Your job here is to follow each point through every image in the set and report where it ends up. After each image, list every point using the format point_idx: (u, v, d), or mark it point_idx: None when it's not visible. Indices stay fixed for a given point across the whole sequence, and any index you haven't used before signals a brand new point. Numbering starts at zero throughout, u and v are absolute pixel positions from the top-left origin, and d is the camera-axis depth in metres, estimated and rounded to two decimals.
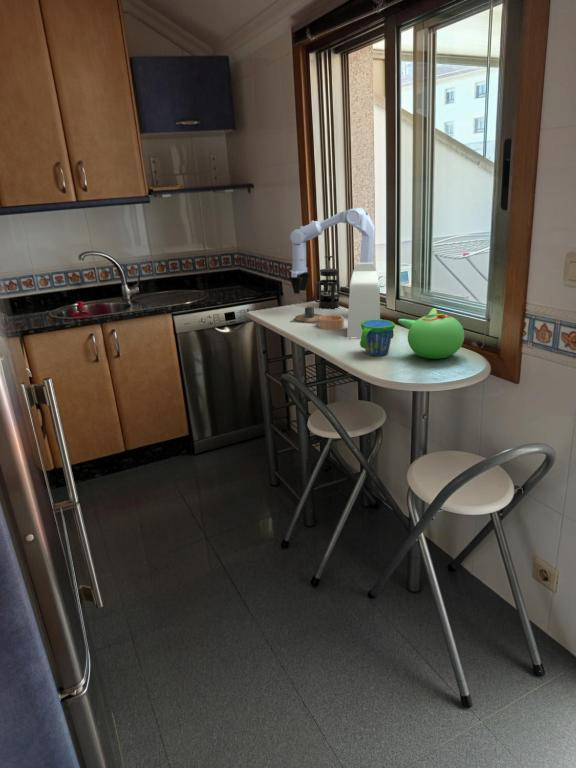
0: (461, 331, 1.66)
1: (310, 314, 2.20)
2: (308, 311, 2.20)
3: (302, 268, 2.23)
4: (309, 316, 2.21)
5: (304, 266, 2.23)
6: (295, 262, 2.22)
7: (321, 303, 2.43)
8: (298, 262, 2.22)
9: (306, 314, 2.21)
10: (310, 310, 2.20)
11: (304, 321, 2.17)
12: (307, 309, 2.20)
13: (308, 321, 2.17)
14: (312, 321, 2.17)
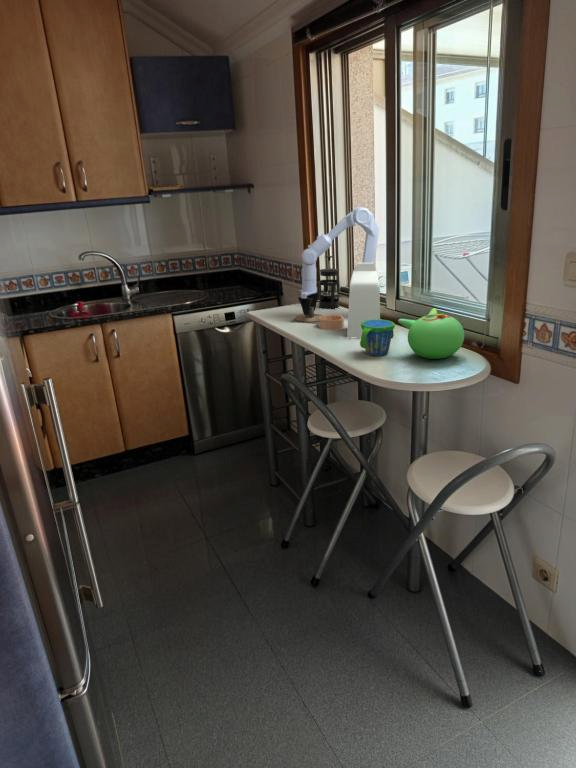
0: (461, 331, 1.66)
1: (310, 314, 2.20)
2: None
3: (312, 289, 2.16)
4: (309, 316, 2.21)
5: (314, 286, 2.16)
6: (305, 282, 2.15)
7: (321, 303, 2.43)
8: (308, 282, 2.15)
9: None
10: (310, 310, 2.20)
11: (304, 321, 2.17)
12: None
13: (308, 321, 2.17)
14: (312, 321, 2.17)
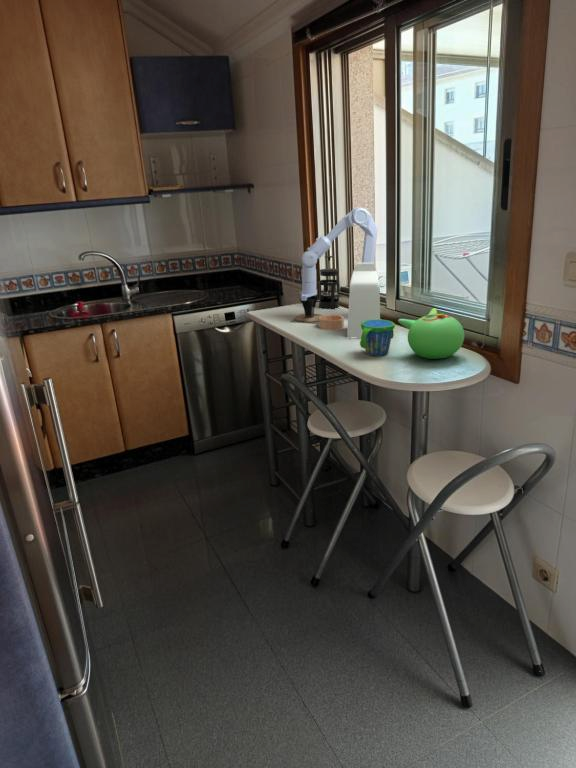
0: (461, 331, 1.66)
1: None
2: None
3: (312, 291, 2.16)
4: (309, 316, 2.21)
5: (314, 289, 2.16)
6: (305, 285, 2.16)
7: (321, 303, 2.43)
8: (308, 285, 2.15)
9: None
10: None
11: (304, 321, 2.17)
12: None
13: (308, 321, 2.17)
14: (312, 321, 2.17)
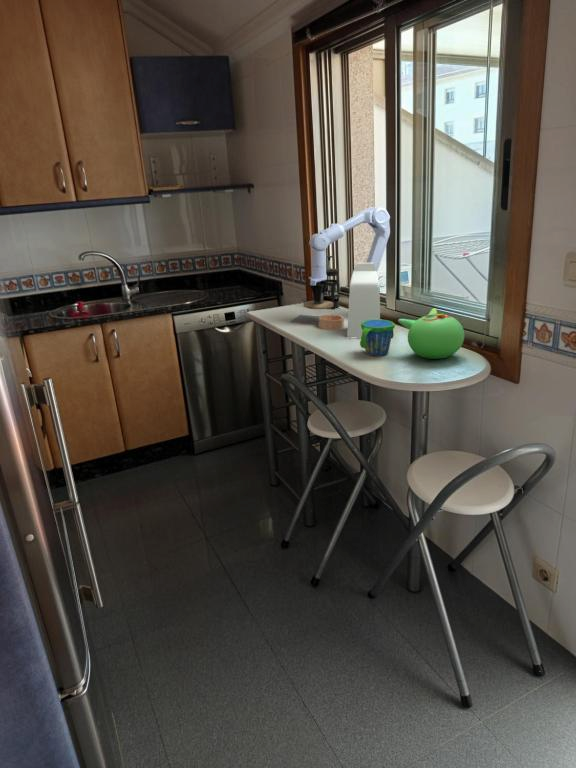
0: (461, 331, 1.66)
1: None
2: None
3: (322, 275, 2.08)
4: (318, 302, 2.13)
5: (324, 273, 2.09)
6: (314, 269, 2.08)
7: None
8: (317, 269, 2.07)
9: None
10: None
11: (313, 307, 2.10)
12: None
13: (317, 307, 2.09)
14: (321, 307, 2.10)
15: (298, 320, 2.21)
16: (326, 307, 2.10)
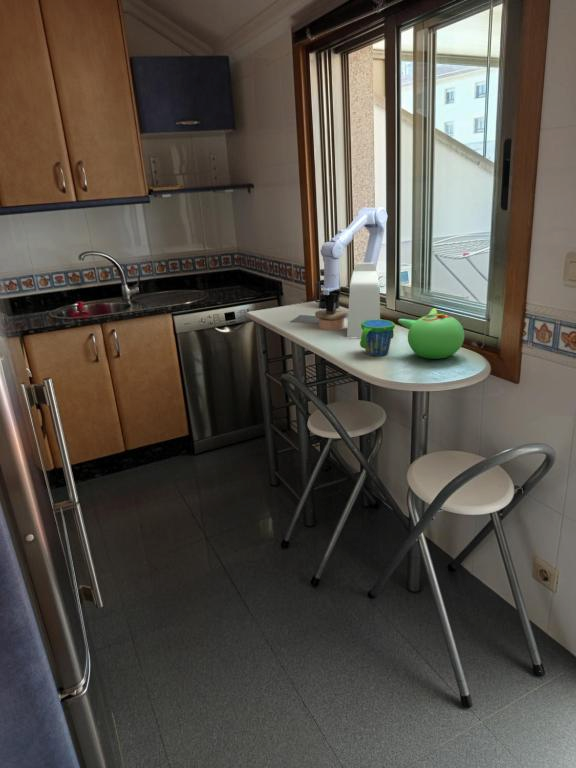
0: (461, 331, 1.66)
1: None
2: None
3: (335, 284, 2.03)
4: (330, 312, 2.07)
5: (337, 282, 2.03)
6: (327, 278, 2.02)
7: (321, 303, 2.43)
8: (330, 278, 2.02)
9: None
10: None
11: (325, 318, 2.04)
12: None
13: (330, 318, 2.04)
14: (334, 318, 2.04)
15: (298, 320, 2.21)
16: (339, 318, 2.04)
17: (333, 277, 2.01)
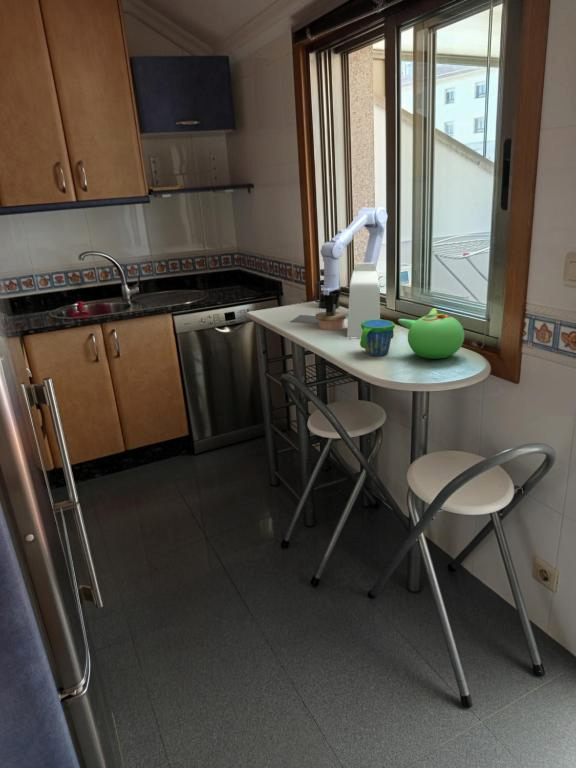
0: (461, 331, 1.66)
1: (331, 312, 2.07)
2: None
3: (335, 285, 2.03)
4: (330, 314, 2.08)
5: (337, 282, 2.03)
6: (327, 278, 2.02)
7: (321, 303, 2.43)
8: (330, 278, 2.02)
9: (327, 312, 2.08)
10: None
11: (325, 319, 2.04)
12: None
13: (330, 319, 2.04)
14: (334, 319, 2.04)
15: (298, 320, 2.21)
16: (339, 319, 2.05)
17: (333, 277, 2.01)
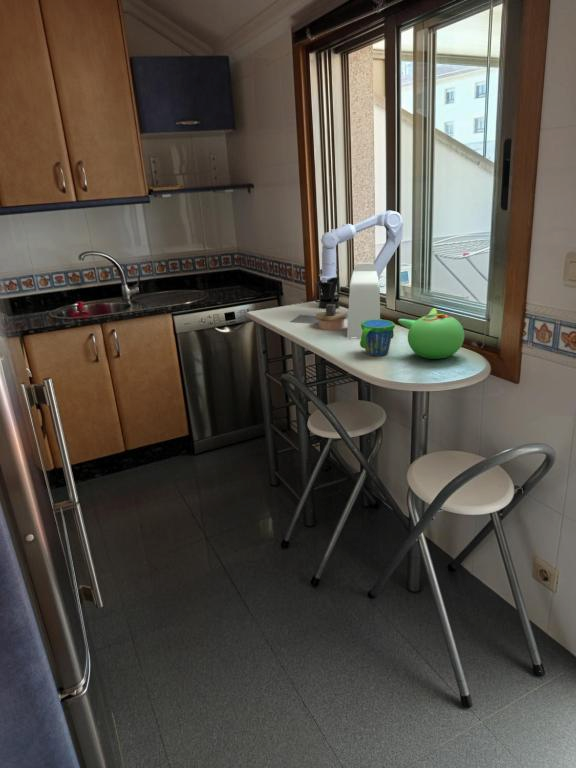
0: (461, 331, 1.66)
1: (331, 312, 2.07)
2: (329, 309, 2.07)
3: (332, 273, 2.13)
4: (330, 314, 2.08)
5: (334, 271, 2.14)
6: (325, 266, 2.13)
7: (321, 303, 2.43)
8: (328, 266, 2.12)
9: (327, 312, 2.08)
10: (331, 308, 2.07)
11: (325, 319, 2.04)
12: (328, 307, 2.07)
13: (330, 319, 2.04)
14: (334, 319, 2.04)
15: (298, 320, 2.21)
16: (339, 319, 2.05)
17: (331, 266, 2.12)
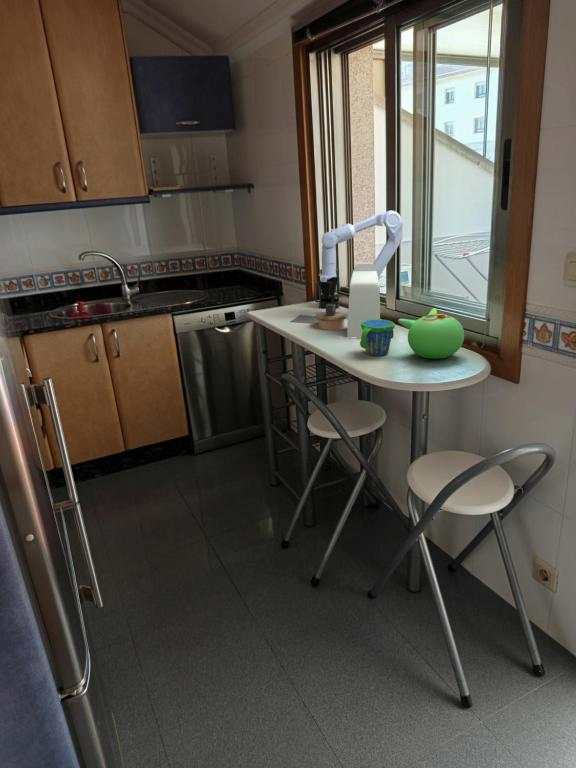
0: (461, 331, 1.66)
1: (331, 312, 2.07)
2: (329, 309, 2.07)
3: (332, 272, 2.15)
4: (330, 314, 2.08)
5: (334, 270, 2.15)
6: (325, 266, 2.14)
7: (321, 303, 2.43)
8: (328, 266, 2.14)
9: (327, 312, 2.08)
10: (331, 308, 2.07)
11: (325, 319, 2.04)
12: (328, 307, 2.07)
13: (330, 319, 2.04)
14: (334, 319, 2.04)
15: (298, 320, 2.21)
16: (339, 319, 2.05)
17: (330, 265, 2.14)
